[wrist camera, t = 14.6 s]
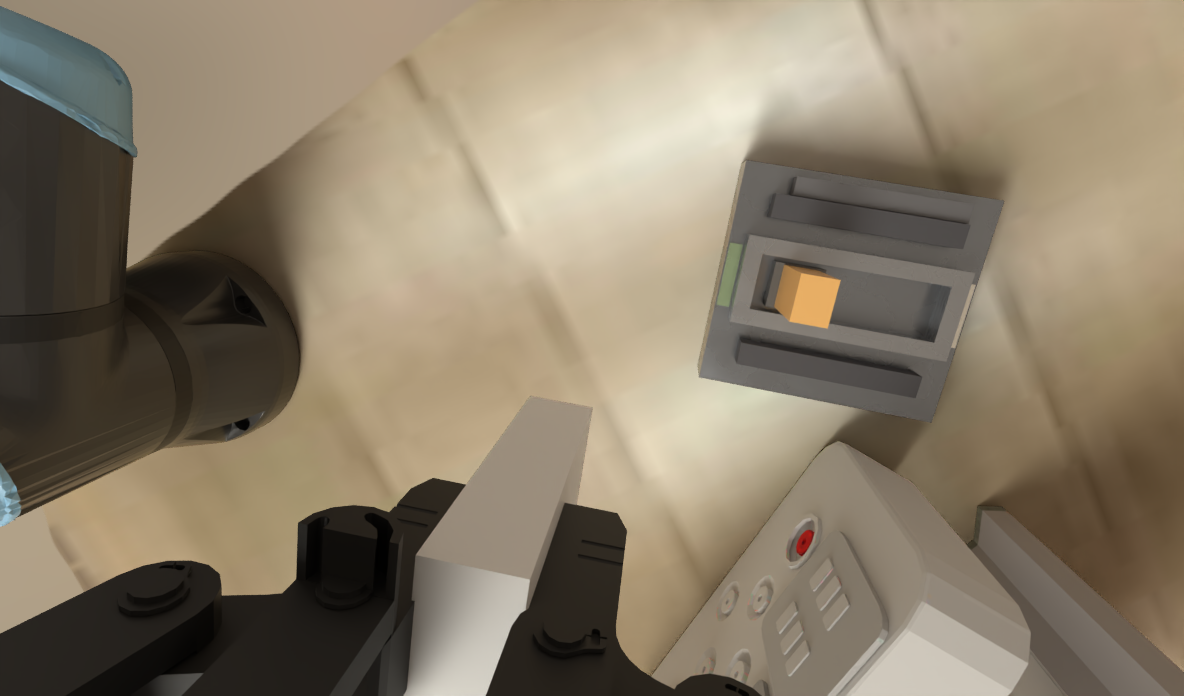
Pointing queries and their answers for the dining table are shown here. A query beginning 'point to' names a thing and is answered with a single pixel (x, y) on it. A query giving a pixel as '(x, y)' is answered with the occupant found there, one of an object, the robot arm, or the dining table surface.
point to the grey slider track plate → (869, 216)
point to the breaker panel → (844, 294)
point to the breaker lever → (801, 293)
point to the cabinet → (1068, 621)
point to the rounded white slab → (856, 598)
